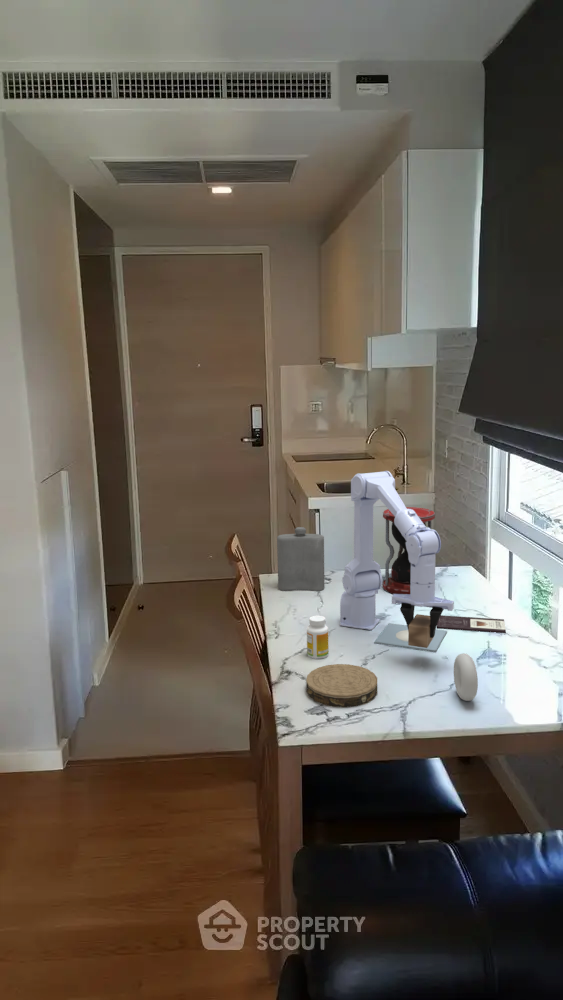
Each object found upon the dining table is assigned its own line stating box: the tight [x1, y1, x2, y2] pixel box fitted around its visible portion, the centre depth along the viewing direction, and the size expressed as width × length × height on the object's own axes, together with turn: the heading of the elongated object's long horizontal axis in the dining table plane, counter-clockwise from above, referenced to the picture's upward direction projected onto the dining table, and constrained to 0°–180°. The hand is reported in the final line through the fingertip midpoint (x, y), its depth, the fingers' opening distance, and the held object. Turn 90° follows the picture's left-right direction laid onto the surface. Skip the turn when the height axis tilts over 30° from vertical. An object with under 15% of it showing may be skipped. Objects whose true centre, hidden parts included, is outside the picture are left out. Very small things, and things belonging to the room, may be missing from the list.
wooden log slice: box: [305, 663, 378, 708], centre depth 159 cm, size 16×16×3 cm
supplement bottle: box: [306, 615, 330, 660], centre depth 177 cm, size 5×5×10 cm
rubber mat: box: [373, 622, 448, 653], centre depth 187 cm, size 16×14×1 cm
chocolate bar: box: [436, 614, 507, 634], centre depth 195 cm, size 9×1×18 cm
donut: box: [453, 653, 479, 702], centre depth 153 cm, size 10×4×10 cm, turn 1°
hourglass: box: [382, 506, 436, 595], centre depth 225 cm, size 16×16×25 cm
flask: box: [276, 526, 326, 592], centre depth 228 cm, size 15×6×20 cm, turn 86°
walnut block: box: [408, 613, 435, 648], centre depth 171 cm, size 4×8×5 cm, turn 156°
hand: (421, 634), depth 171 cm, fingers closed on walnut block, 4 cm apart
